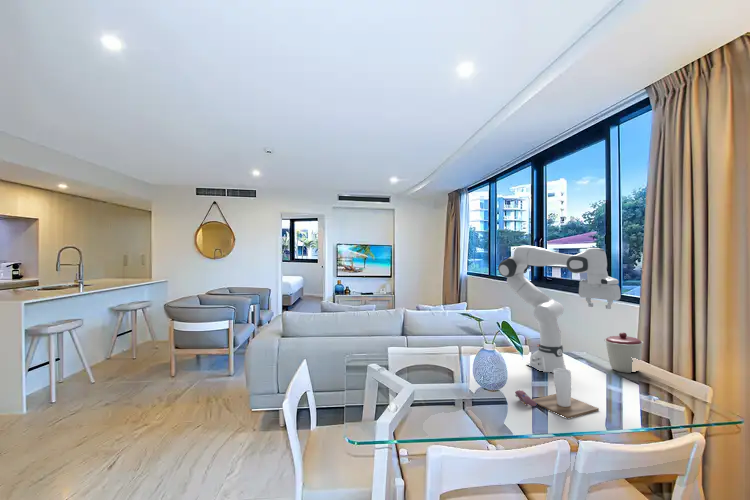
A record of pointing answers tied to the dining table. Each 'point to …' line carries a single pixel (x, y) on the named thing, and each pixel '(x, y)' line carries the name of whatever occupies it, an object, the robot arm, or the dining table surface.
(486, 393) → the dining table surface
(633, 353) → the canister
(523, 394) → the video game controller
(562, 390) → the drinking glass
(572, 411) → the walnut board
